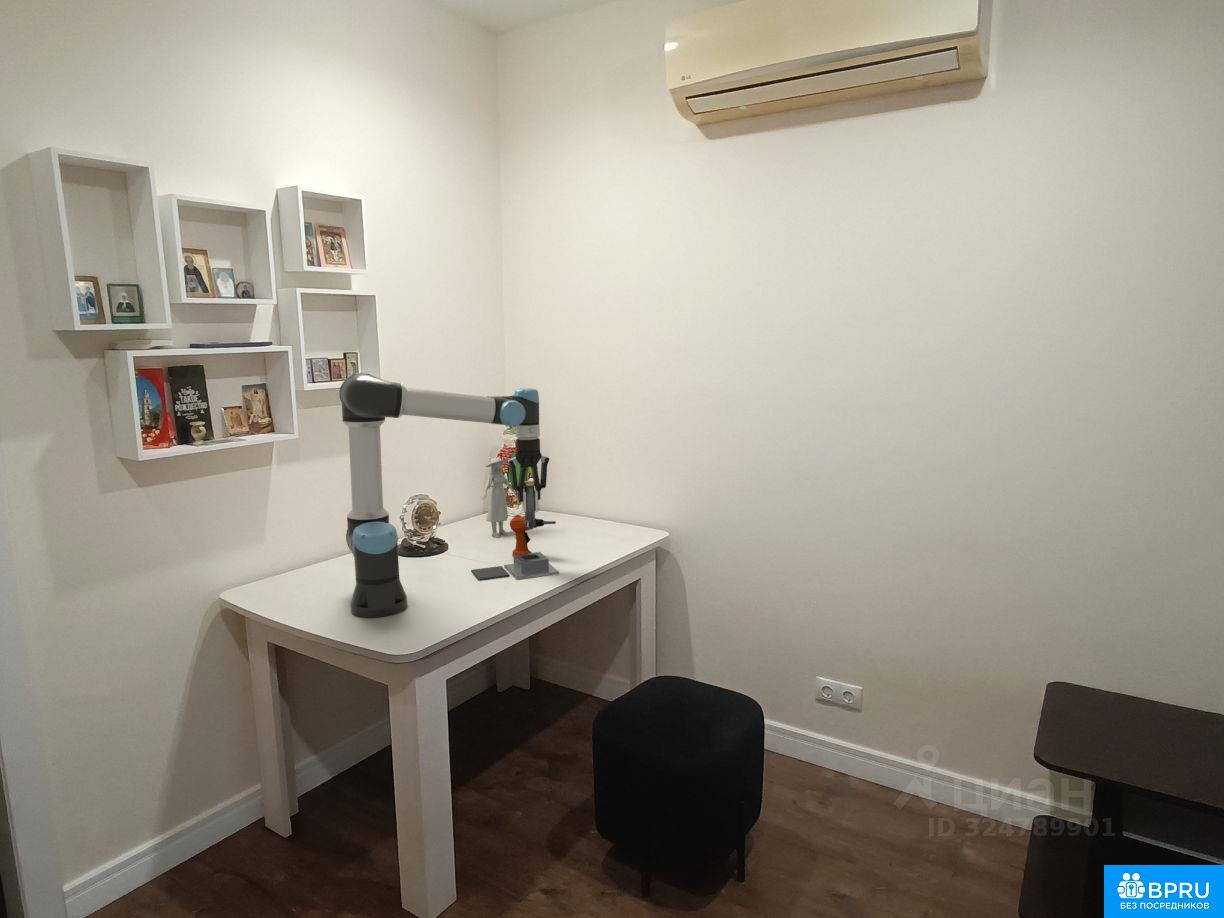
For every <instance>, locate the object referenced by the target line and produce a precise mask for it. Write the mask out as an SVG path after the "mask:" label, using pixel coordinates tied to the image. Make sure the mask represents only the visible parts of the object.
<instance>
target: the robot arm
mask: <svg viewBox="0 0 1224 918" xmlns="http://www.w3.org/2000/svg"><path fill="white" fill-rule="evenodd" d="M338 396H339V399H340V402H341V412H342V413H341V415H342V422H343V424H345V425H346V426H347V427H348V441H349V442H348V443H349V444H348V445H349V463H350V464H349V465H350V466H349V467H350V486H351V488H350V489H351V492H350V493H351V510H350V511H349V512H348V513H347V515H346V522H347V524H346V525H347V529H346V534H345V540H346V545H347V547H348V548H349V550H350V551H351V554H352V555H353V558H354V571H355V572H354V573H355V586H354V590H353V593H352V597H351V600H350V611H351V614H353V615H355V616H357V617H363V618H380V617H386V616H391V615H395V614H398V613H400V612H402V611H404V610H405V609H406V608H407V607H408V598H407V594H406V592H405V589H404V587H403V585H402V582H401V578H400V567H399V547H398V545H399V543H398V542H399V536H398V532H397V529H396V527H395V526H394V525H393V524H391V523H390V513H389V511H388V510H387V509H386V508H384V497H383V496H384V495H383V493H384V492H383V474H382V473H383V472H382V471H383V470H382V448H381V447H382V445H381V444H382V443H381V426H382V425H383V424H384V422H385V421H386V418H394V419H399V418H401V417H402V416H410V417H423V418H430V419H441V420H442V419H443V420H444V419H445V420H452V421H453V420H454V421H463V422H472V423H482V424H483V423H484V424H491V425H499V426H500V425H501V426H506V427H511V428H512V427H513V428H514V427H515V437H516V439H515V451H516V452H515V455H514V457H512V458H509V459H508V458H507V459H508V460H507V461H506V462H507V464H508V466H509V472H510V480H511V486H512V489H514V491H515V492H517V495H518V497H517V498H518V501H519V502H520V503H521V504H520V505H521V511H522V512H523V513H525V512H526V492H525V491H524V482H525V481H526V474H527V473H526V472H527V470H528V468H530V469H531V474H532V479H533V480H532V481H535V485H534V496H535V512H538V511H539V503H538V502H539V501H540V500H541V491H542V490H543V489H545V488H547V478H548V477H547V476H548V464H549V462H550V458H549V457H548V456H544V455H543V454H542V453H541V439H540V438H539V437H540V435H541V431H540V395H539V391H538V390H537V389H536V388H531V387H530V388H526V387H524V388H515V390H514V393H513V395H506V396H505V395H503V396H500V395H499V396H498V395H497V396H488V395H487V396H483V395H472V394H465V393H455V392H447V391H439V390H430V389H429V390H428V389H421V388H413V387H406V386H405V385H404V384H403V383H402V382H395V381H388V380H385V379H383V378H379V377H376V376H374V375H372V374H370V373H363V372H360V373H353V374H351V375H349V376H348V377H347V378H345V379H344V380H343V382H342V383H341V385H340V387H339V393H338ZM539 461H540V462H541V466H540V475H539V471H538V463H539ZM517 463H518V465H519V474H518V475H519V476H518V475H517V467H516V464H517ZM517 476H518V478H517ZM539 476H540V477H539Z"/></svg>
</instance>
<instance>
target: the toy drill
mask: <svg viewBox="0 0 1224 918" xmlns="http://www.w3.org/2000/svg"><path fill="white" fill-rule="evenodd" d="M556 523H557V522H556V521H555V520H544V519H543V518H536V517H535V527H525V515H520V514H516V515H514V517H512V519H510V521H509V527H510V529H511V530H512V531H513V532H514V533H515V534H514V535H515V540H516V541H515V548H514V549H513V550H512V553H511V554H512V557H513V555H519V554H527V553H533V552H532V551H531V550H529V549H528V548H529V546H528V543H529V542H530V541H531V540H532V539H531V538H530V536H529V535H528V534H529V533H528V532H527V531H530V530H534V529H537V528H539V527H543V526H544V525H556Z"/></svg>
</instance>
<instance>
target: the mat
mask: <svg viewBox="0 0 1224 918" xmlns="http://www.w3.org/2000/svg"><path fill="white" fill-rule="evenodd" d="M470 571H471V572H470V573H472V574H473V576H474V577H475V579H476V580H477V581H484V580H485V581H487V580H493V579H500V578H501V579H502V578H507V577H509V576H510V575H511V574H510V573H509V572H508V571H507V570H506V569H505V567H503V566H502V565H498V566H490V567H483V568H475V569H474V568H473V569H471V570H470Z"/></svg>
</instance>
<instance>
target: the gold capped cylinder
mask: <svg viewBox="0 0 1224 918" xmlns="http://www.w3.org/2000/svg"><path fill="white" fill-rule="evenodd" d="M534 485H535V481H534V480H525V482H524V490H523V491H525V492H526V512H524V516H525V527H535V518H536V511H535V496H534V489H535V486H534Z"/></svg>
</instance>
